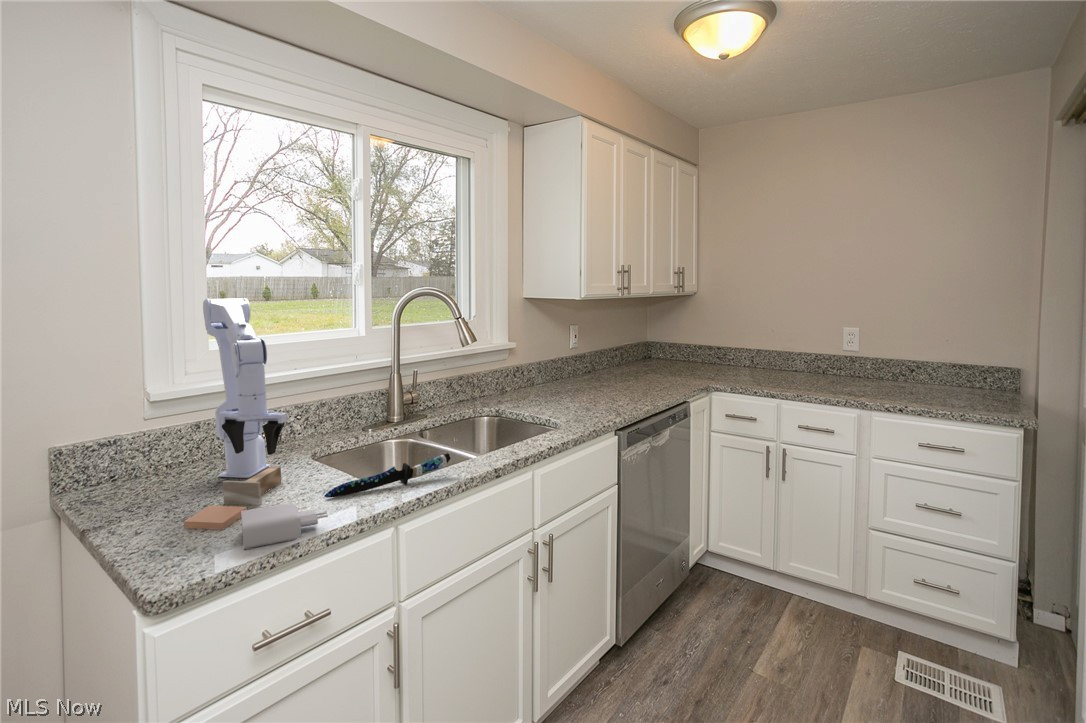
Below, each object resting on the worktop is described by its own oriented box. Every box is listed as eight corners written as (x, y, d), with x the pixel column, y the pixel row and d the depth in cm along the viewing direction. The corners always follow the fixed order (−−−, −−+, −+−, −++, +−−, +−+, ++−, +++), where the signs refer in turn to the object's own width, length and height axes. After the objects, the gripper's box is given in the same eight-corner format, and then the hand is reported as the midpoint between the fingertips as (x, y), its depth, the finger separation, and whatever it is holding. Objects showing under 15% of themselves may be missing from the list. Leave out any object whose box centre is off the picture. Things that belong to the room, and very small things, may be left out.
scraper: (260, 481, 140) (259, 461, 139) (292, 483, 139) (291, 462, 138) (224, 503, 126) (222, 481, 125) (259, 505, 125) (257, 483, 125)
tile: (210, 505, 121) (183, 521, 114) (246, 506, 121) (222, 522, 113) (210, 513, 122) (184, 529, 114) (247, 514, 121) (223, 531, 113)
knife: (450, 468, 146) (448, 451, 145) (454, 471, 144) (452, 454, 143) (323, 503, 131) (320, 485, 131) (326, 508, 129) (323, 489, 128)
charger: (331, 534, 111) (243, 551, 104) (324, 517, 119) (242, 532, 112) (330, 511, 111) (242, 526, 104) (323, 495, 119) (240, 508, 112)
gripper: (209, 396, 126) (213, 457, 128) (272, 398, 125) (276, 459, 126) (229, 390, 133) (233, 447, 135) (290, 391, 132) (293, 449, 133)
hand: (255, 452), depth 131 cm, fingers open, 7 cm apart
